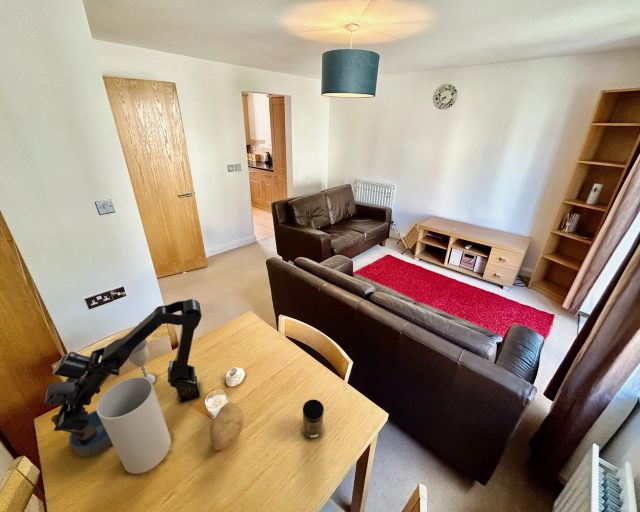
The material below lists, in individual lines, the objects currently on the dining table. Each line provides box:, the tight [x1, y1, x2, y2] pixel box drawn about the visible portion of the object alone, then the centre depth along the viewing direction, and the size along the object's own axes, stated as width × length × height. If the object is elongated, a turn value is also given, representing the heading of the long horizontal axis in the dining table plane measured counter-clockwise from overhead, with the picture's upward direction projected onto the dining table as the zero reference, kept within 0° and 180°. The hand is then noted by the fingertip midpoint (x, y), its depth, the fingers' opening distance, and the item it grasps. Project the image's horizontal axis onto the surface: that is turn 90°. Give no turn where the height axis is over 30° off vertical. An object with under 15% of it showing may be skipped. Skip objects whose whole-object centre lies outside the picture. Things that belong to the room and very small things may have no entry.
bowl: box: [68, 409, 113, 457], centre depth 86 cm, size 13×13×4 cm
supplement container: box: [302, 399, 325, 440], centre depth 88 cm, size 7×7×10 cm
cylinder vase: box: [95, 376, 172, 475], centre depth 78 cm, size 12×12×25 cm
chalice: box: [128, 339, 156, 384], centre depth 102 cm, size 7×7×18 cm
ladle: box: [50, 413, 97, 443], centre depth 83 cm, size 8×4×12 cm, turn 114°
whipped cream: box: [225, 366, 246, 387], centre depth 106 cm, size 8×7×5 cm
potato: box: [209, 402, 244, 451], centre depth 87 cm, size 10×14×8 cm
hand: (56, 426), depth 81 cm, fingers open, 3 cm apart
